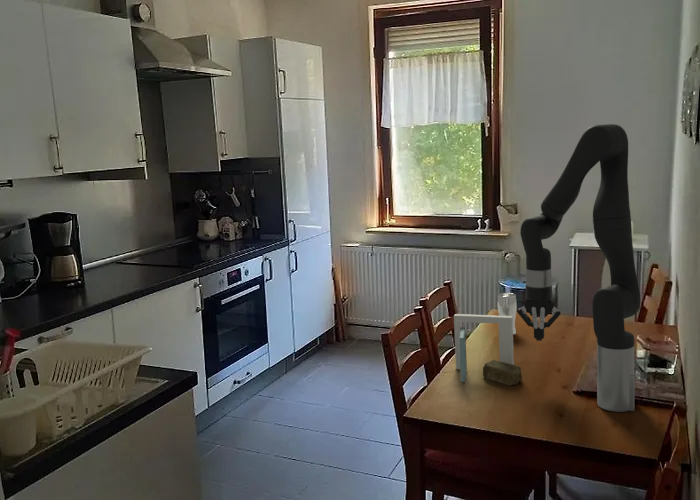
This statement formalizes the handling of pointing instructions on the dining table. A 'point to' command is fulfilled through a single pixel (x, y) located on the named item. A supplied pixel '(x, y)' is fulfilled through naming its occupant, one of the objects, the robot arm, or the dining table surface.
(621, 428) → the dining table surface
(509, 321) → the door frame
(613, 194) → the robot arm
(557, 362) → the dining table surface
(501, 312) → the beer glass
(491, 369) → the stone block
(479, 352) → the dining table surface
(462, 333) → the door
